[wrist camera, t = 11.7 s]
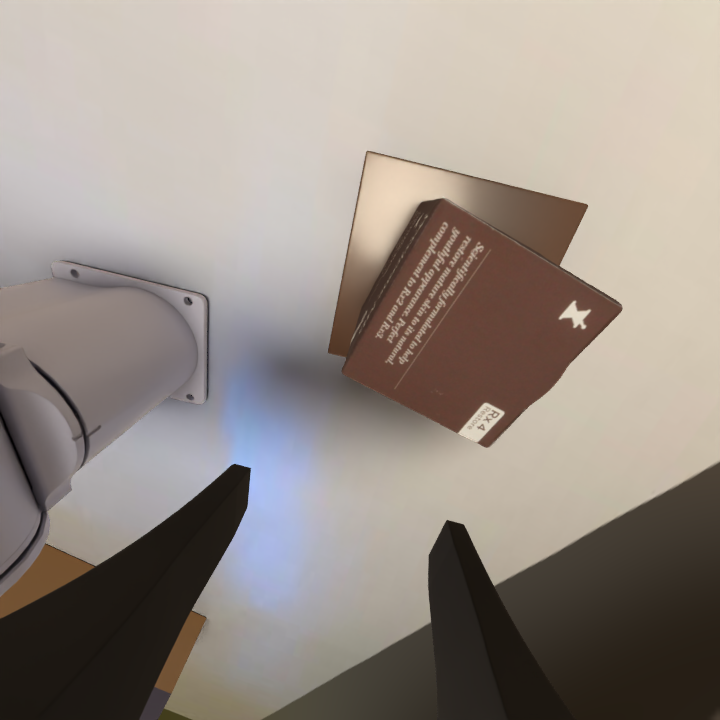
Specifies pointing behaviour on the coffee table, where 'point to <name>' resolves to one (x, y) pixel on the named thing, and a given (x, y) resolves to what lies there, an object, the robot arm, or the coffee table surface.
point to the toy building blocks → (63, 568)
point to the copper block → (422, 183)
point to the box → (471, 323)
